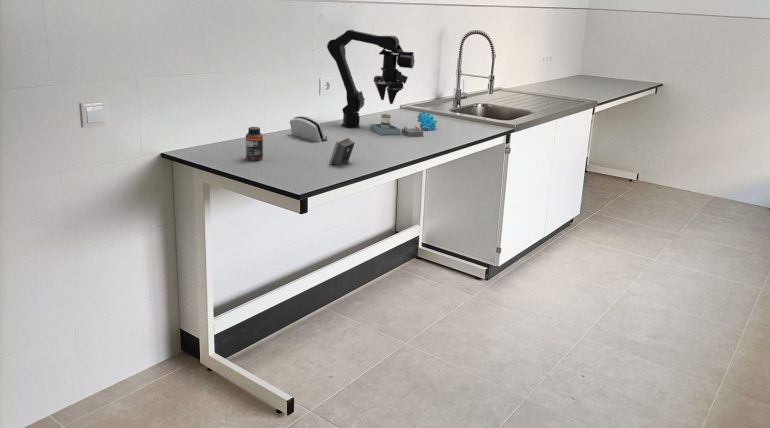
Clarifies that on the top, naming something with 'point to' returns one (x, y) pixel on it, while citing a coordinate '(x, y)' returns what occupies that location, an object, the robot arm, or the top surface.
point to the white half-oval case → (307, 128)
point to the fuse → (385, 121)
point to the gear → (426, 121)
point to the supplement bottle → (254, 144)
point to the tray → (385, 130)
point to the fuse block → (412, 131)
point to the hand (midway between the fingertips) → (386, 102)
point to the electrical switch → (342, 151)
